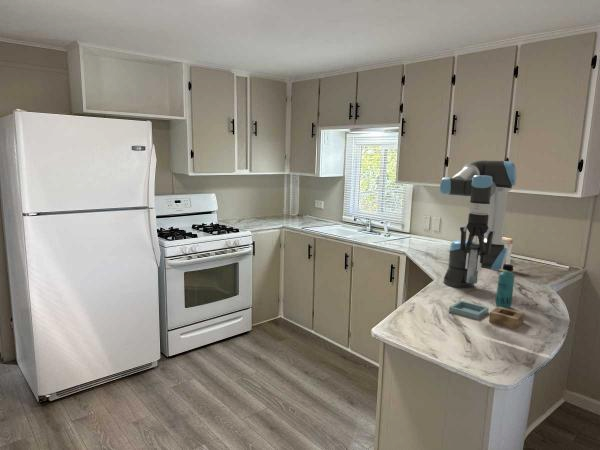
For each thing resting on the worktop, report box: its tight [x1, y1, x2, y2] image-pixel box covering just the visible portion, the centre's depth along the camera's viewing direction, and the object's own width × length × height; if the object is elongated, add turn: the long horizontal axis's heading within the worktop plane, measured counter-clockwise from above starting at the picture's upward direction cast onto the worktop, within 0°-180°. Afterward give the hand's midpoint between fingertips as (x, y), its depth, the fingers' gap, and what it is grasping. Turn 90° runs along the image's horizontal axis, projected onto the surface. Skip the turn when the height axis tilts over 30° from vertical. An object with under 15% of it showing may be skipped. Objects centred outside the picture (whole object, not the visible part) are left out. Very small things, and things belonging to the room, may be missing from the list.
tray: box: [448, 300, 490, 320], centre depth 180 cm, size 12×12×3 cm
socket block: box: [488, 306, 525, 330], centre depth 170 cm, size 10×10×5 cm
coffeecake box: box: [498, 236, 514, 272], centre depth 258 cm, size 15×7×20 cm, turn 42°
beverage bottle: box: [495, 264, 515, 309], centre depth 187 cm, size 6×7×20 cm
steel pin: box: [467, 242, 480, 285], centre depth 177 cm, size 5×5×16 cm
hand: (473, 269), depth 177 cm, fingers closed on steel pin, 4 cm apart
